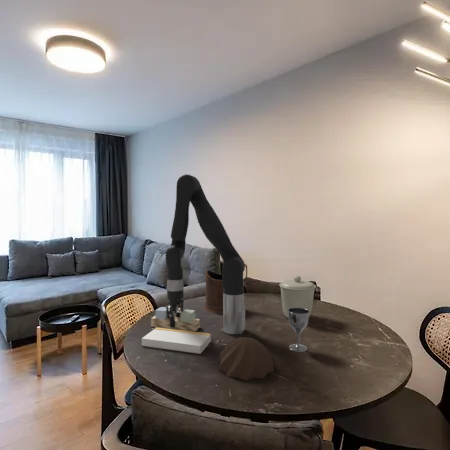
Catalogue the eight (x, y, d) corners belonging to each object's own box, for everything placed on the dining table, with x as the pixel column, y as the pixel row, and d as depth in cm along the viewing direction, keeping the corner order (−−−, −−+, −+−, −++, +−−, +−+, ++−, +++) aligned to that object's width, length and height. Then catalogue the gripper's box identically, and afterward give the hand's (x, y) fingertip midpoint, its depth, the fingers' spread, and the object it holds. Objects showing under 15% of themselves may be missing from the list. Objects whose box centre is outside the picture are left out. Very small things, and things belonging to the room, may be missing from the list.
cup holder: (206, 302, 191) (206, 259, 190) (248, 304, 188) (248, 260, 186) (200, 312, 173) (200, 265, 171) (245, 314, 169) (245, 266, 168)
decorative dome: (237, 387, 101) (237, 355, 101) (208, 361, 118) (208, 333, 118) (285, 371, 111) (286, 342, 110) (252, 349, 128) (252, 324, 127)
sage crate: (195, 318, 151) (195, 310, 151) (191, 322, 146) (191, 313, 146) (185, 317, 152) (185, 309, 152) (180, 321, 148) (180, 312, 147)
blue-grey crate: (170, 316, 155) (170, 307, 154) (165, 319, 150) (165, 311, 150) (160, 315, 156) (160, 306, 156) (155, 318, 151) (155, 310, 151)
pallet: (199, 327, 151) (199, 319, 151) (195, 332, 146) (195, 323, 145) (156, 322, 157) (156, 314, 157) (151, 326, 152) (151, 318, 152)
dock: (210, 341, 135) (210, 333, 135) (200, 353, 123) (200, 345, 123) (156, 334, 142) (156, 327, 142) (141, 345, 130) (141, 337, 130)
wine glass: (296, 353, 124) (297, 314, 123) (283, 346, 131) (284, 309, 130) (312, 349, 127) (313, 311, 127) (299, 342, 134) (299, 306, 134)
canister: (323, 318, 163) (324, 277, 162) (297, 326, 153) (298, 281, 152) (296, 309, 178) (296, 271, 177) (271, 315, 168) (271, 274, 167)
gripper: (176, 293, 143) (176, 331, 143) (188, 285, 156) (188, 320, 157) (160, 291, 145) (160, 329, 146) (174, 284, 158) (174, 318, 159)
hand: (175, 324), depth 151 cm, fingers closed on pallet, 5 cm apart
